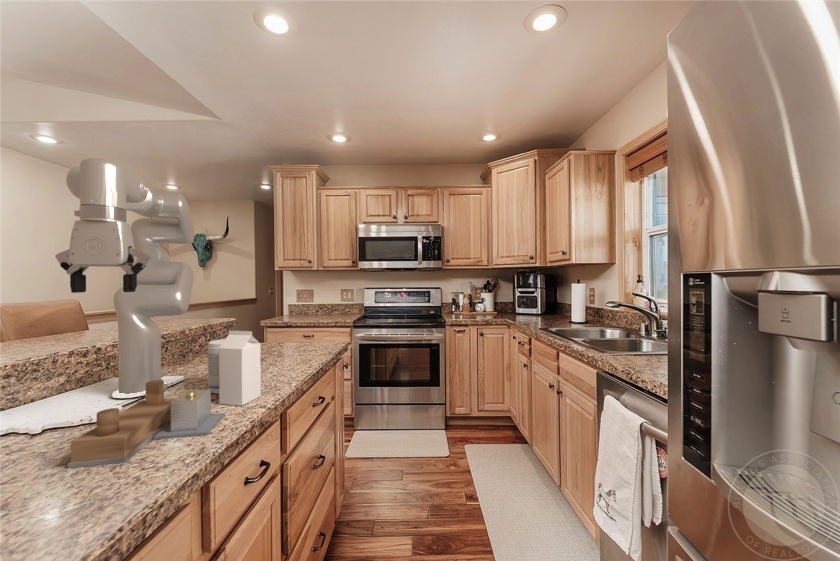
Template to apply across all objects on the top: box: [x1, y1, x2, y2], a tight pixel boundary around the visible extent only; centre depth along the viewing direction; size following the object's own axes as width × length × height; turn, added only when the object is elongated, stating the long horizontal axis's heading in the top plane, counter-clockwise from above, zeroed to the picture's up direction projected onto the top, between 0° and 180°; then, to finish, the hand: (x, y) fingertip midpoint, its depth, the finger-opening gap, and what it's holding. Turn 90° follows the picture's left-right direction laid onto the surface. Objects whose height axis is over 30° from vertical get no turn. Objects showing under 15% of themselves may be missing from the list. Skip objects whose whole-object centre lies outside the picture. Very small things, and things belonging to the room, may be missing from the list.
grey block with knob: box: [171, 389, 212, 432], centre depth 73 cm, size 7×5×7 cm
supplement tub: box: [207, 338, 226, 395], centre depth 98 cm, size 10×10×15 cm
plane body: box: [67, 379, 177, 469], centre depth 68 cm, size 21×9×10 cm, turn 13°
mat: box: [152, 412, 226, 441], centre depth 73 cm, size 10×10×1 cm
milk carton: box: [218, 330, 262, 406], centre depth 88 cm, size 7×7×19 cm
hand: (104, 292), depth 73 cm, fingers open, 9 cm apart
